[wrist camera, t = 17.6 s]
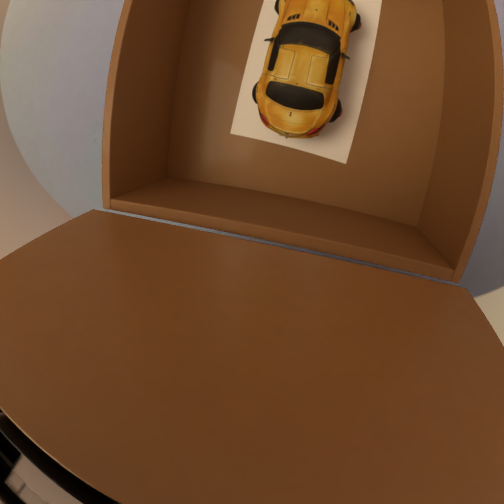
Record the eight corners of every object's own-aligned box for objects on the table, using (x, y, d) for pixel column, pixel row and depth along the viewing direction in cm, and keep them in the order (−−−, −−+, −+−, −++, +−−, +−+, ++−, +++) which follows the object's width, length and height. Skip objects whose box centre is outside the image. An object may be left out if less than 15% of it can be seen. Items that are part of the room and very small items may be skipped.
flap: (466, 288, 7) (462, 297, 8) (93, 209, 10) (93, 217, 10) (551, 475, 1) (538, 485, 1) (-65, 307, 3) (-60, 319, 3)
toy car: (364, 4, 8) (371, -16, 6) (331, 150, 12) (334, 153, 10) (283, -13, 8) (275, -35, 6) (246, 128, 12) (232, 127, 10)
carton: (418, 234, 13) (458, 284, 8) (163, 183, 15) (102, 208, 10) (444, -9, 6) (479, -45, 1) (199, -43, 8) (159, -83, 3)
